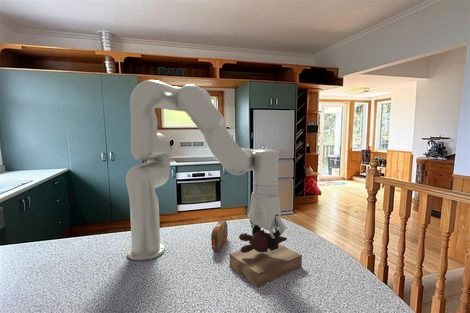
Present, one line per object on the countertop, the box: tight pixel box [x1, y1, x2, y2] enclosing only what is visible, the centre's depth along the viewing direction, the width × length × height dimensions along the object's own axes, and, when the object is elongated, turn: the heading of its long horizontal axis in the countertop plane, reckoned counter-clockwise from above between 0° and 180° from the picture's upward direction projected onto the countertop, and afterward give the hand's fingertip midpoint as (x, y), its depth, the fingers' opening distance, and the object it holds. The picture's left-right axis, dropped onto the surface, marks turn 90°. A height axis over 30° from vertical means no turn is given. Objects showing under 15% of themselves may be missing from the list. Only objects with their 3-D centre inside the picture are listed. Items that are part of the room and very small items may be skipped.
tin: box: [210, 220, 229, 252], centre depth 95 cm, size 15×3×8 cm, turn 168°
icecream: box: [238, 229, 288, 253], centre depth 79 cm, size 7×7×15 cm
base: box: [229, 243, 303, 288], centre depth 80 cm, size 14×18×4 cm
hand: (264, 244), depth 80 cm, fingers closed on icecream, 7 cm apart
